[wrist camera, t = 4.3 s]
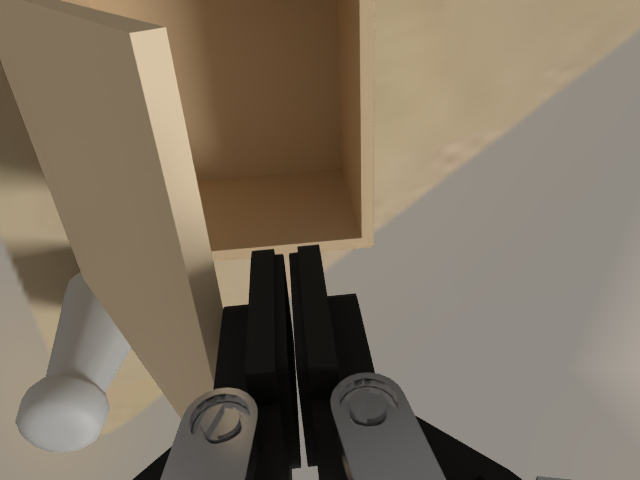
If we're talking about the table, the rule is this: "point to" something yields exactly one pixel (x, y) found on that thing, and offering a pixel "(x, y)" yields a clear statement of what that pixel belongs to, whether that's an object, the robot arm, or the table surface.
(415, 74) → the table surface
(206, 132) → the carton
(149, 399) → the table surface
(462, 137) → the table surface
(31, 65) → the flap
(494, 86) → the table surface
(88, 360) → the salt shaker
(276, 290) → the robot arm
